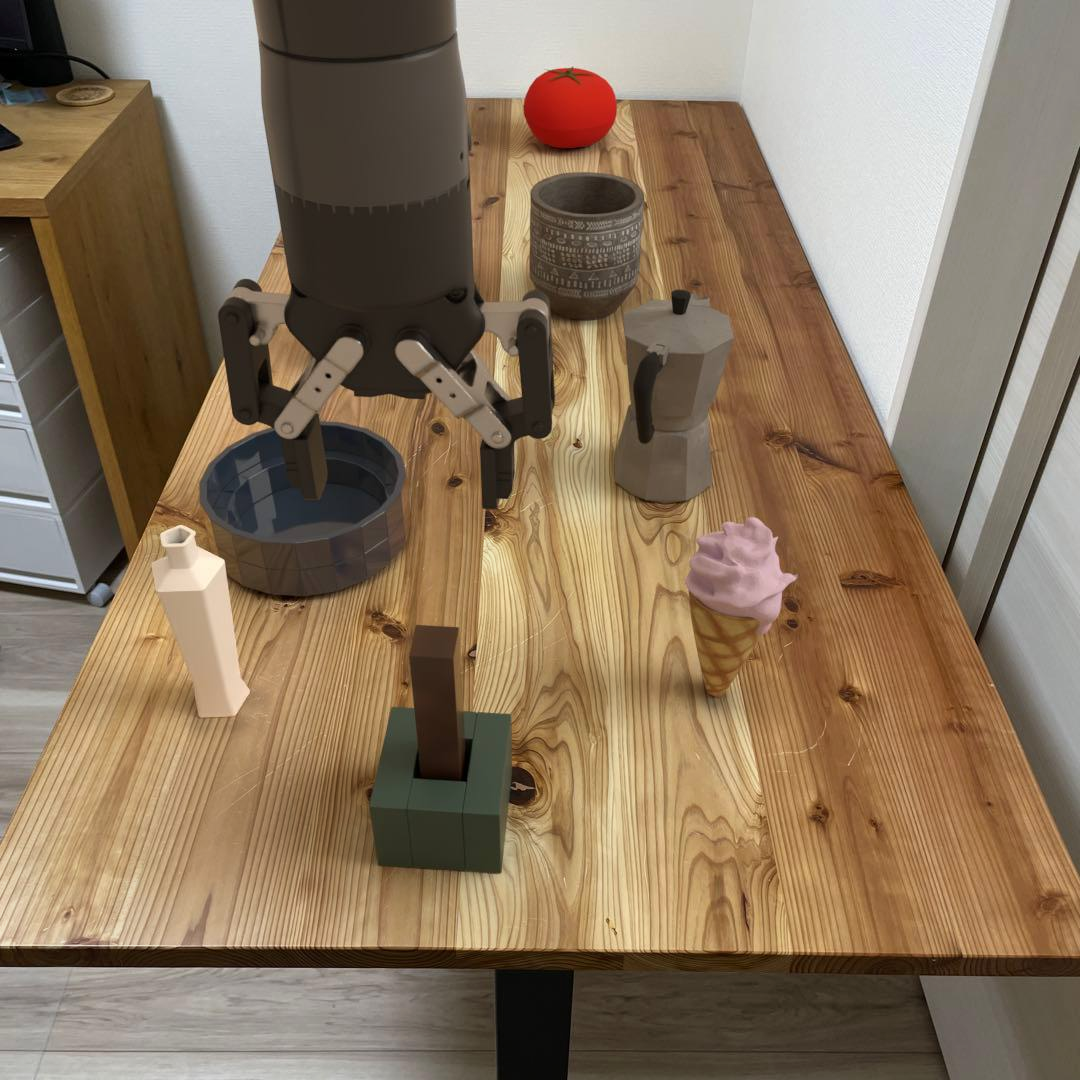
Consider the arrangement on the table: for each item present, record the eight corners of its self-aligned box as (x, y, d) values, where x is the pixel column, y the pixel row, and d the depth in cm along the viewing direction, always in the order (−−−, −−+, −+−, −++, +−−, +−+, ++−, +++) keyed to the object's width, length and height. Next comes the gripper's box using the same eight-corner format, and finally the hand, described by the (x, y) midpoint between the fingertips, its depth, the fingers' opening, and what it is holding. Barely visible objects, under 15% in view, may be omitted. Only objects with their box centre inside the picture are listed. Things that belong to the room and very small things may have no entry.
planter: (515, 319, 118) (514, 207, 110) (547, 271, 127) (548, 165, 119) (622, 336, 115) (629, 223, 107) (647, 286, 124) (655, 179, 116)
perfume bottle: (206, 735, 73) (158, 572, 63) (178, 697, 76) (127, 534, 66) (266, 703, 75) (229, 540, 66) (237, 667, 78) (197, 505, 68)
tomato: (576, 121, 167) (578, 50, 160) (632, 145, 159) (637, 71, 153) (504, 141, 160) (503, 68, 153) (559, 167, 152) (561, 91, 146)
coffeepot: (637, 424, 103) (652, 247, 91) (732, 448, 100) (760, 269, 88) (576, 515, 92) (584, 328, 80) (681, 545, 89) (705, 355, 77)
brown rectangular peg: (426, 832, 67) (408, 656, 57) (431, 800, 69) (415, 624, 59) (464, 834, 67) (453, 658, 57) (468, 803, 69) (459, 626, 59)
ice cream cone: (779, 682, 77) (816, 522, 68) (746, 740, 73) (781, 578, 63) (695, 648, 80) (719, 488, 70) (658, 702, 76) (679, 540, 66)
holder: (377, 865, 65) (368, 806, 62) (398, 766, 71) (391, 706, 67) (501, 874, 65) (499, 815, 61) (512, 773, 71) (511, 713, 67)
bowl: (186, 595, 84) (170, 536, 80) (244, 472, 96) (232, 416, 92) (391, 607, 83) (385, 548, 79) (423, 481, 95) (419, 425, 91)
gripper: (154, 192, 38) (236, 537, 49) (550, 205, 38) (546, 553, 48) (218, 120, 44) (278, 443, 55) (562, 130, 43) (557, 456, 54)
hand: (404, 494), depth 51 cm, fingers open, 8 cm apart
